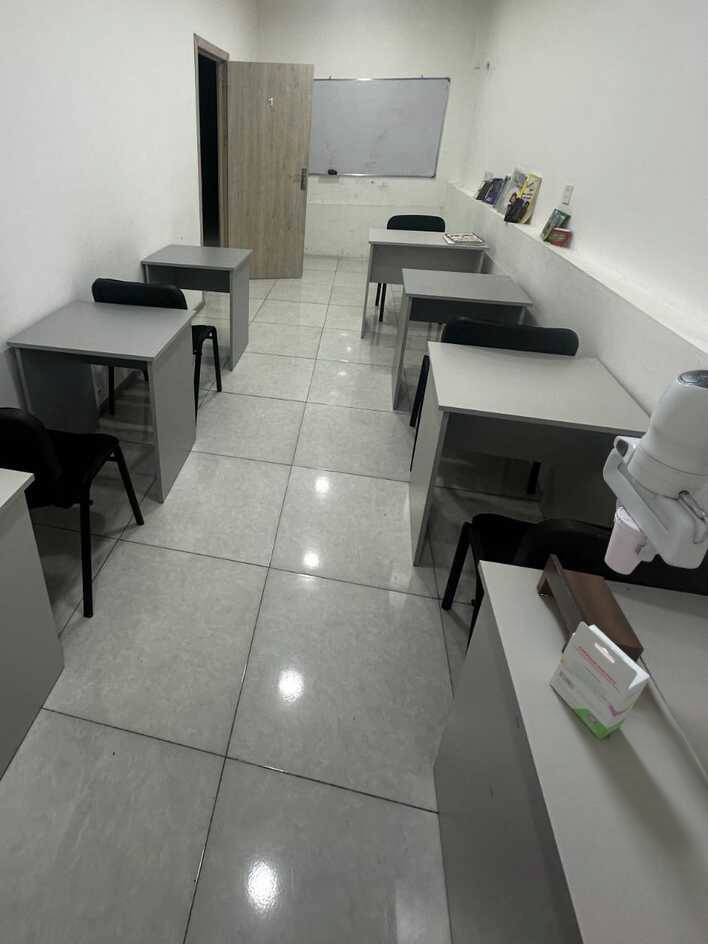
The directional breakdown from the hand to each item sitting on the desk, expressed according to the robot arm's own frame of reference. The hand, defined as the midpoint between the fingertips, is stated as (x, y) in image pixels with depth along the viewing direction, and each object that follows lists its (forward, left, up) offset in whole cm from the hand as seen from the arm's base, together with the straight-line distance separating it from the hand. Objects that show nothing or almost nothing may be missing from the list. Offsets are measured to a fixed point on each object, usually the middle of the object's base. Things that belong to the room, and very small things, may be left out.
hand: (630, 540), depth 77 cm
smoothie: (0, 0, -6) cm, 6 cm away
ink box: (+6, +14, -21) cm, 26 cm away
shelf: (+1, 0, -21) cm, 21 cm away
